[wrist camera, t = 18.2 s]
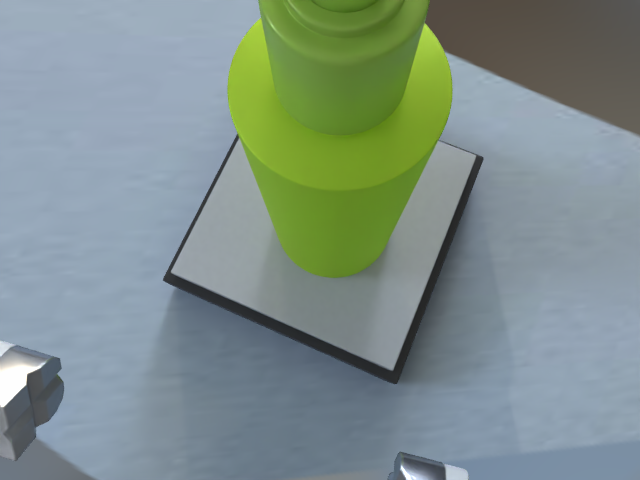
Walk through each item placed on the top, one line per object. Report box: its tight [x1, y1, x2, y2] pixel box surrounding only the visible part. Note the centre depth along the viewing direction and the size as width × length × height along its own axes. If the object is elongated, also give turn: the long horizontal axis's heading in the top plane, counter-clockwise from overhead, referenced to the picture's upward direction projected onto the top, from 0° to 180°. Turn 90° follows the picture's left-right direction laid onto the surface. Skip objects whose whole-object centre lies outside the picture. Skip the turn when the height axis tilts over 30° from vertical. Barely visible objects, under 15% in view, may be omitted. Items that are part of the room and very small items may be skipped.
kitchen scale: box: [163, 134, 483, 384], centre depth 27 cm, size 13×13×3 cm
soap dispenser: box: [228, 0, 452, 278], centre depth 16 cm, size 6×7×20 cm
